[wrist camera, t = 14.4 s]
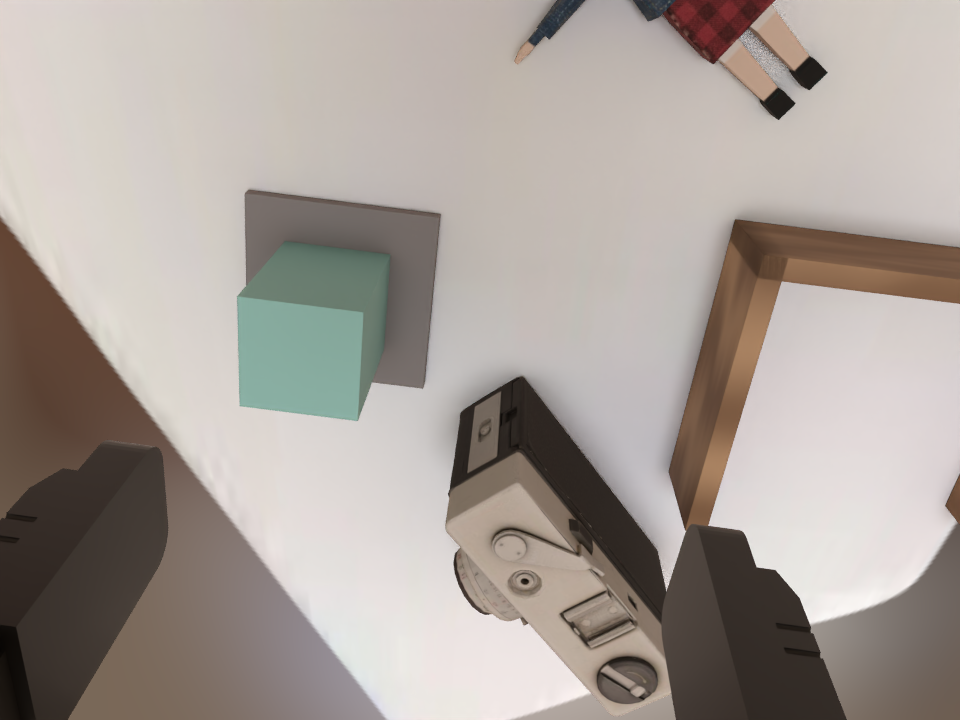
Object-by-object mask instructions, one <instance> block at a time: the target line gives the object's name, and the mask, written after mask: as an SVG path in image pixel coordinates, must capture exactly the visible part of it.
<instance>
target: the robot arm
mask: <svg viewBox="0 0 960 720" xmlns="http://www.w3.org/2000/svg"><path fill="white" fill-rule="evenodd" d="M167 518H168V517H167V506H166V492H165V480H164V467H163V457H162V453H161V451H160V449H159V448H157V447H153V446H145V445H139V444H132V443H125V442H118V441H110V440H107V441H104V442H103V443H101V444H100V445H99V446H98V447H97V449H96V450H95V451H94V452H93V453H92V454H91V455H90V457H89V458H88V459H87V460H86V461H85V463H84V464H83V465H82V466H81V467H80V469H79V470H78V471H77V470H70V469H61V470H59V471H58V472H56V473H54V474H53V475H51V476H49V477H48V478H46V479H44V480H42V481H41V482H39V483H37V484H36V485H34V486H32V487H30V488H29V489H28V490H27V491H26V492H25V493H24V494H23V496H22V497H21V498H20V499H19V500H18V501H17V502H16V503H15V504H14V505H13V507H12V508H11V509H10V510H9V511H8V512H7V515H6V518H5V519H4V518H2V519H1V520H0V720H68V718H69V716H70V715H71V713H72V711H73V710H74V708H75V706H76V705H77V703H78V701H79V700H80V698H81V696H82V694H83V693H84V691H85V690H86V688H87V686H88V684H89V683H90V681H91V679H92V678H93V676H94V674H95V673H96V671H97V669H98V668H99V666H100V664H101V663H102V661H103V659H104V658H105V656H106V654H107V652H108V651H109V649H110V647H111V646H112V644H113V643H114V640H115V639H116V637H117V636H118V634H119V632H120V631H121V629H122V627H123V626H124V624H125V622H126V620H127V619H128V617H129V616H130V614H131V612H132V611H133V609H134V607H135V605H136V604H137V602H138V601H139V599H140V597H141V596H142V594H143V592H144V590H145V589H146V587H147V585H148V583H149V582H150V580H151V579H152V577H153V575H154V574H155V572H156V570H157V569H158V567H159V565H160V562H161V560H162V557H163V554H164V551H165V547H166V543H167V536H168V519H167ZM661 629H662V642H663V648H664V653H665V659H666V665H667V671H668V676H669V682H670V688H671V694H672V699H673V705H674V711H675V717H676V720H847V719H846V717H845V714H844V711H843V709H842V706H841V704H840V701H839V699H838V696H837V693H836V691H835V688H834V686H833V683H832V681H831V678H830V676H829V673H828V670H827V668H826V665H825V663H824V660H823V659H821V658H820V650H819V647H818V645H817V642H816V639H815V637H814V634H812V633H811V632H810V630H811V627H810V624H809V621H808V619H807V616H806V614H805V611H804V609H803V606H802V603H801V601H800V598H799V597H798V596H797V595H796V593H795V592H794V591H793V590H792V589H791V588H790V587H789V585H788V584H787V583H786V582H785V581H784V580H783V578H782V577H781V576H780V575H779V574H778V573H777V571H776V570H771V569H764V568H757V567H756V565H755V562H754V559H753V556H752V553H751V550H750V547H749V544H748V541H747V538H746V536H745V534H744V533H743V532H742V531H740V530H734V529H727V528H719V527H712V526H705V525H698V524H691V525H690V526H689V527H688V529H687V531H686V533H685V536H684V539H683V542H682V545H681V548H680V552H679V555H678V558H677V561H676V564H675V567H674V570H673V574H672V577H671V580H670V583H669V586H668V589H667V592H666V596H665V599H664V604H663V610H662V624H661Z"/></svg>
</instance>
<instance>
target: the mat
mask: <svg viewBox="0 0 960 720" xmlns="http://www.w3.org/2000/svg"><path fill="white" fill-rule="evenodd" d="M439 223H440V214H434V213H426V212H418V211H410V210H402V209H395V208H387V207H379V206H371V205H363V204H355V203H347V202H339V201H331V200H323V199H315V198H307V197H299V196H292V195H284V194H276V193H268V192H260V191H252V190H248V191H247V192H246V193H245V239H246V286H247V285H248V283H249V282H250V281H251V280H252V279H253V278H254V277H255V275H256V274H257V273H258V272H259V271H260V270H261V268H262V267H263V266H264V265H265V264H266V263H267V261H268V260H269V259H270V258H271V257H272V256H273V255H274V253H275V252H276V251H277V250H278V249H279V248H280V246H281V245H282V244H283V243H284V242H285V241H289V242H296V243H304V244H312V245H320V246H328V247H336V248H344V249H352V250H359V251H367V252H375V253H383V254H391V255H390V269H389V284H388V299H387V313H386V328H385V343H384V351H383V353H382V356H381V359H380V362H379V364H378V367H377V370H376V373H375V375H374V378H373V381H372V382H375V383H383V384H391V385H399V386H407V387H415V388H423V387H424V382H425V372H426V361H427V351H428V340H429V329H430V319H431V308H432V298H433V287H434V276H435V266H436V255H437V244H438V234H439Z"/></svg>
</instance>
